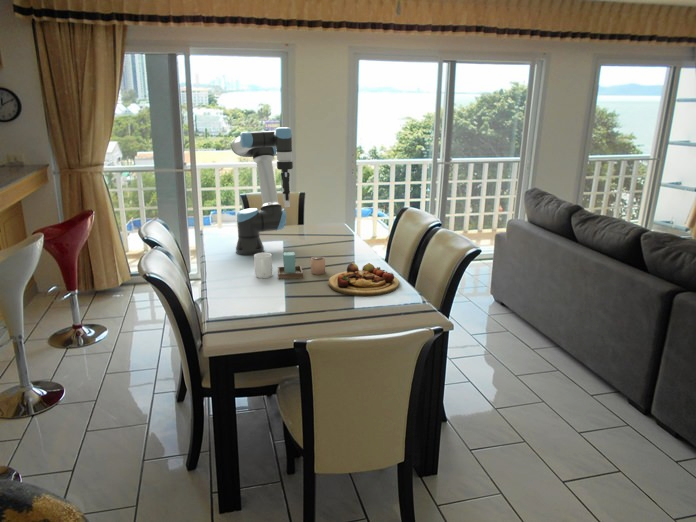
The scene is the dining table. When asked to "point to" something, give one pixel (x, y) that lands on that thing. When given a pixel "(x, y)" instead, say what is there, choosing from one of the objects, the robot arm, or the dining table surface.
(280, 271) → the walnut box
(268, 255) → the mug
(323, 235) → the dining table surface
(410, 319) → the dining table surface
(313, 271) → the terracotta pot
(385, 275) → the wooden plate with food
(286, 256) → the teal block
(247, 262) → the dining table surface
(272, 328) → the dining table surface
